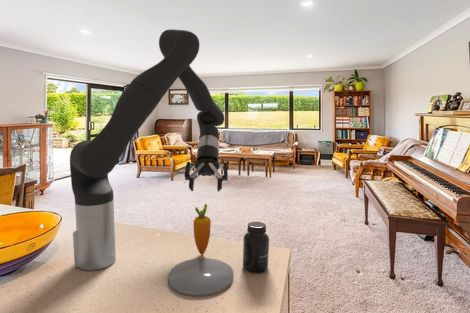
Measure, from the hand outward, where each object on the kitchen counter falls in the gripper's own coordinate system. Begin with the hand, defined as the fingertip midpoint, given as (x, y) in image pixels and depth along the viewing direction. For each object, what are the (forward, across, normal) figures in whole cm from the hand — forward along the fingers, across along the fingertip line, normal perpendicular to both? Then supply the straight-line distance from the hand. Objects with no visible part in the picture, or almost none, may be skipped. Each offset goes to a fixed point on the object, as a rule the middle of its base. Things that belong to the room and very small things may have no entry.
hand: (205, 190), depth 92 cm
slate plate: (+28, +1, -4) cm, 28 cm away
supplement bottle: (+24, +15, 0) cm, 29 cm away
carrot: (+19, 0, +5) cm, 20 cm away
